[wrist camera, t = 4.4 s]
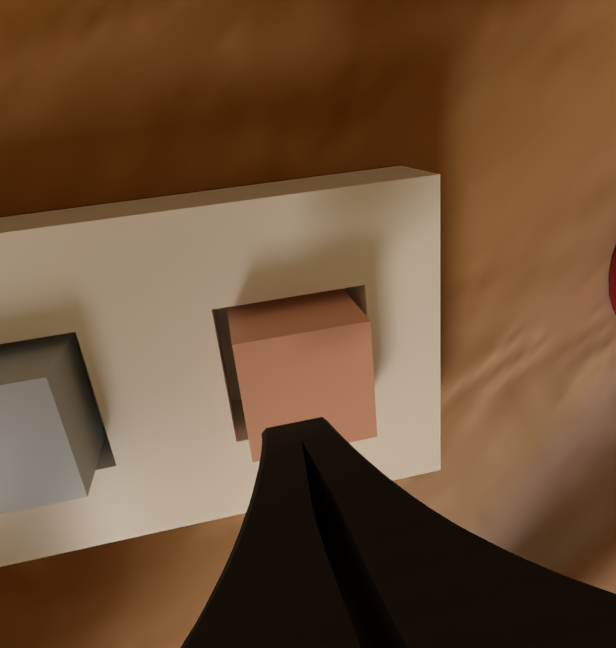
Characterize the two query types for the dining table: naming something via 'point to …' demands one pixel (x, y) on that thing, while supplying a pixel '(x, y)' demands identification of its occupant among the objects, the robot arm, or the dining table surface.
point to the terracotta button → (304, 364)
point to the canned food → (613, 283)
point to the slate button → (46, 424)
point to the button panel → (217, 334)
